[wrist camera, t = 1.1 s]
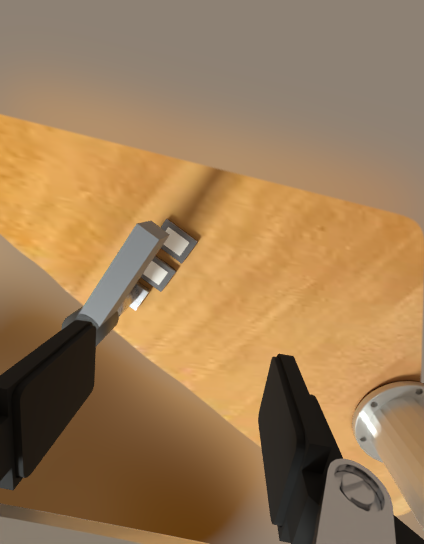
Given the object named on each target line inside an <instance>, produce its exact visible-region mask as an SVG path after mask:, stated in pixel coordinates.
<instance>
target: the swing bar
mask: <svg viewBox="0 0 424 544" xmlns="http://www.w3.org/2000/svg"><path fill="white" fill-rule="evenodd" d="M169 235H170V234H168V233H167V232H166V231H164V230H163V229H162V228H160V227H159V226H158V225H156V224H155V223H153V222H152V221H148V222H143V223H138V224H136V226H135V227H134V229H133V231H132V232H131V234H130V235H129V237H128V238H127V240H126V241H125V243H124V245H123V246H122V248H121V249H120V251H119V252H118V254H117V255H116V257H115V258H114V260H113V262H112V263H111V265H110V266H109V268H108V269H107V271H106V272H105V274H104V275H103V277H102V279H101V280H100V282H99V283H98V285H97V286H96V288H95V289H94V291H93V292H92V294H91V296H90V297H89V299H88V300H87V302H86V303H85V305H84V306H83V307H81V308H80V309H78V310H77V311H75V312H74V313H72V314H71V315H70V316H68V317H67V318H66V319H65V320H64V322H63V324H62V329H64V328H65V327H66V326H68V325H69V324H70V323H72V322H73V321H74V320H83V321H89V322H92V324H93V326H95V327H96V346H97V345H98V344H99V343H100V341H102V340H103V338H104V337H105V336H106V335H107V334H108V333H109V332H110V331H111V330H112V329H113V328H114V327H115V326H116V324H117V323H118V319H119V314H118V311H117V310H118V309H119V307H120V306H121V305H122V303H123V302H124V300H125V299H126V297H127V296H128V294H129V293H130V292H131V290H132V289H133V287H134V286H135V284H136V283H137V281H138V280H139V279H140V277H141V276H142V274H143V273H144V271H145V270H146V268H147V267H148V266H149V264H150V263H151V261H152V260H153V258H154V257H155V255H156V254H157V253H158V251H159V250H160V248H161V247H162V245H163V244H164V242H165V241H166V240H167V238H168V237H169Z"/></svg>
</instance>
